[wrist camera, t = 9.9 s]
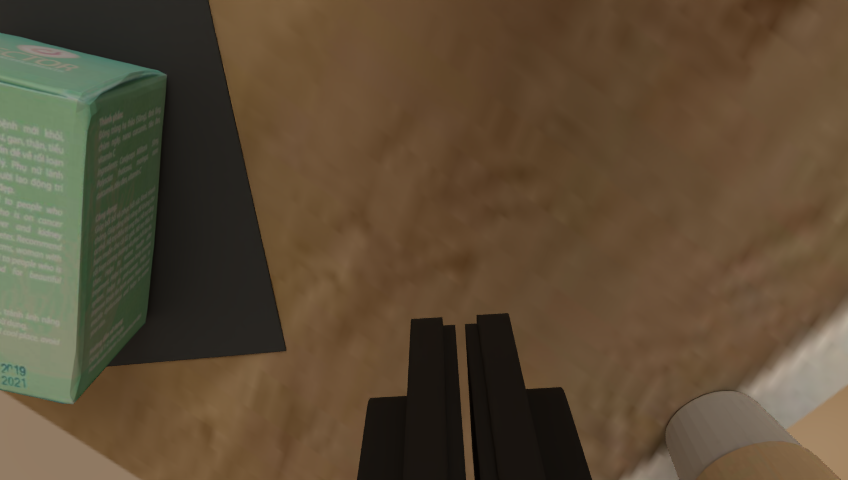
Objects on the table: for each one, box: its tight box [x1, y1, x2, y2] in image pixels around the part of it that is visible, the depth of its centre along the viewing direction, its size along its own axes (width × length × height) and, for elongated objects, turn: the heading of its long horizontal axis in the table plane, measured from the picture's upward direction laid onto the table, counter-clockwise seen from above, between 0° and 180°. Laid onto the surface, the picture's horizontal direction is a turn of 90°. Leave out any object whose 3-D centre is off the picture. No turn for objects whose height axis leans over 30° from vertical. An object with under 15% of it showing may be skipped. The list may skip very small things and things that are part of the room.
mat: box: [0, 0, 286, 366], centre depth 29 cm, size 20×12×1 cm, turn 6°
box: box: [0, 33, 167, 404], centre depth 26 cm, size 7×14×8 cm, turn 166°
